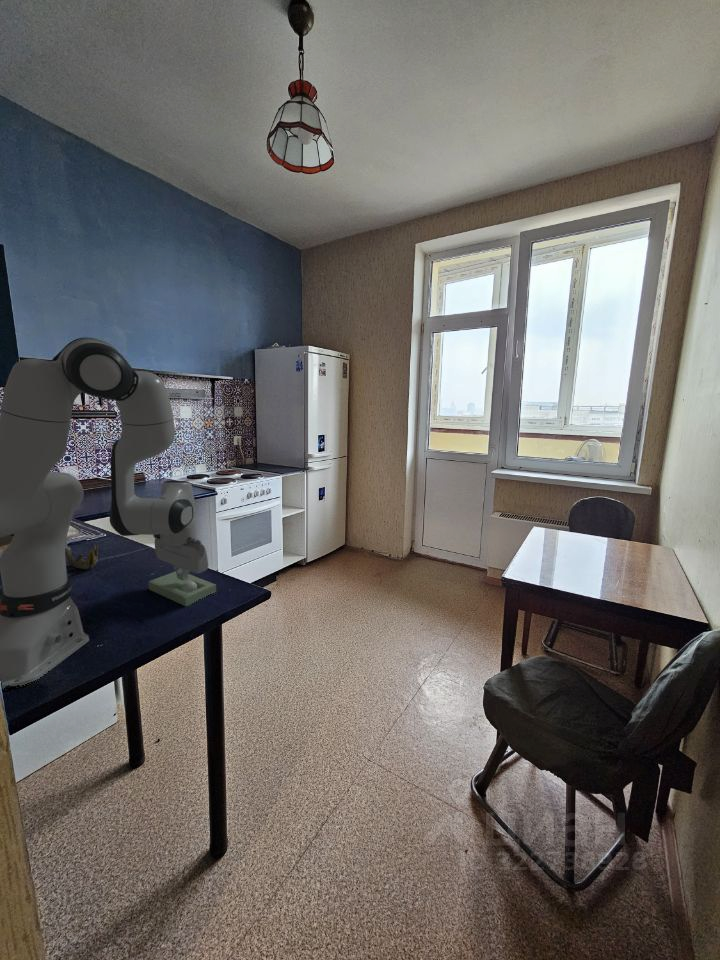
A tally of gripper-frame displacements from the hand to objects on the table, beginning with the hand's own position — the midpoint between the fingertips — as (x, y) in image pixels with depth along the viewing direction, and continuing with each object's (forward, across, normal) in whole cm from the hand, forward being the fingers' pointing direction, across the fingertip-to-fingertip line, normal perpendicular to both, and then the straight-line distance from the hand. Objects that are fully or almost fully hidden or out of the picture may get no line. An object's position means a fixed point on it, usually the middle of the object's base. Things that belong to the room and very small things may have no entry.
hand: (182, 579), depth 115 cm
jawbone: (+4, +42, +7) cm, 42 cm away
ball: (+2, -3, 0) cm, 4 cm away
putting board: (+4, 0, 0) cm, 4 cm away
